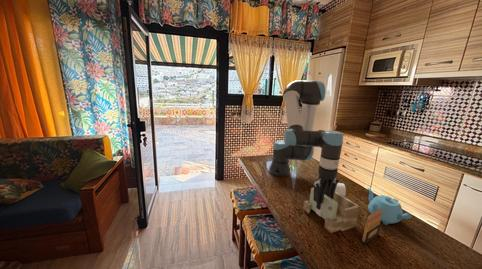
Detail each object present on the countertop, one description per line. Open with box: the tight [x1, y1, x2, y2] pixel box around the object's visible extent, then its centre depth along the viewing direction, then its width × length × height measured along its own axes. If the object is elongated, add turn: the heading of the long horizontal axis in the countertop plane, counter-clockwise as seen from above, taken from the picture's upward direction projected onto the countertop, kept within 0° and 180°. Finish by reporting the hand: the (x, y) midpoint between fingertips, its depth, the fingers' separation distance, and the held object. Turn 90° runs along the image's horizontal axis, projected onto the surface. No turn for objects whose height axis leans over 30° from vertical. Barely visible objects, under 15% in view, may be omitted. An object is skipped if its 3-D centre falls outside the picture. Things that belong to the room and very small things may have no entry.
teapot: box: [367, 187, 413, 226], centre depth 89 cm, size 15×14×11 cm
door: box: [309, 187, 338, 221], centre depth 86 cm, size 14×3×10 cm, turn 23°
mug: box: [335, 182, 347, 198], centre depth 110 cm, size 12×10×8 cm
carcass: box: [302, 192, 361, 234], centre depth 89 cm, size 19×14×10 cm
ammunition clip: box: [360, 209, 382, 244], centre depth 77 cm, size 11×2×12 cm, turn 121°
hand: (320, 214), depth 88 cm, fingers closed on door, 2 cm apart
